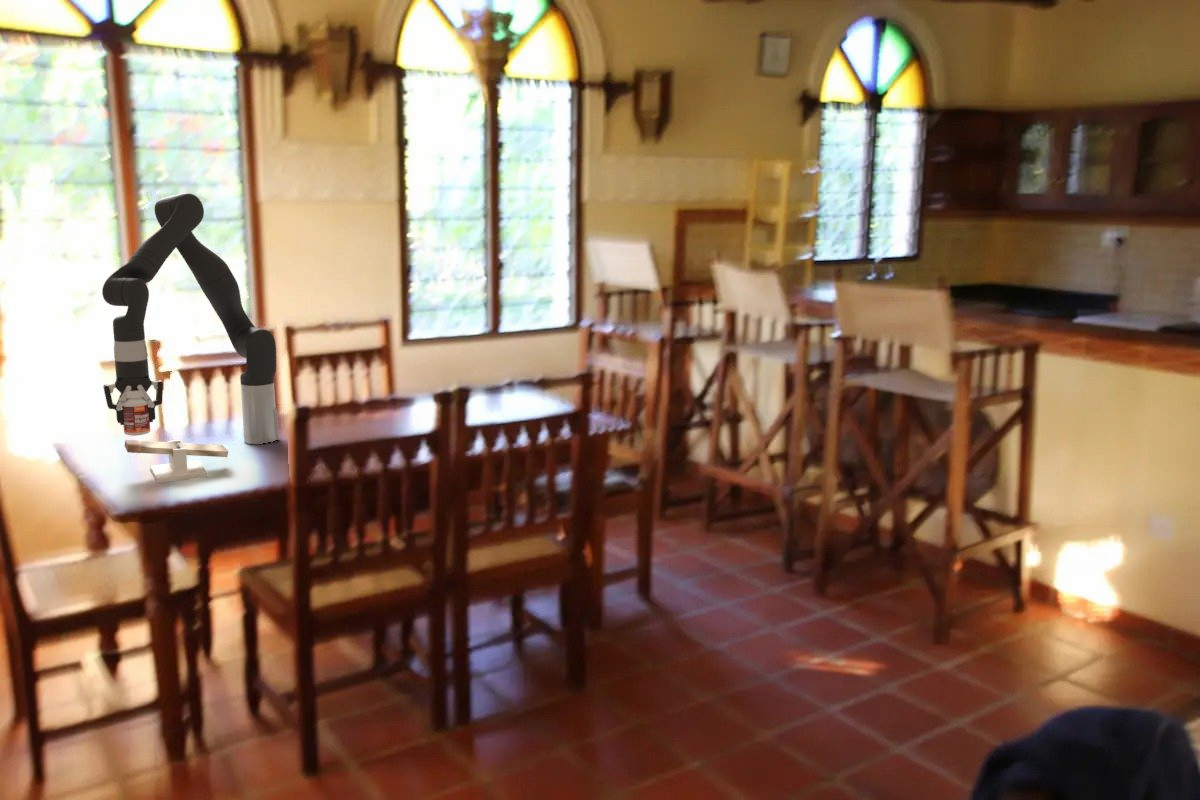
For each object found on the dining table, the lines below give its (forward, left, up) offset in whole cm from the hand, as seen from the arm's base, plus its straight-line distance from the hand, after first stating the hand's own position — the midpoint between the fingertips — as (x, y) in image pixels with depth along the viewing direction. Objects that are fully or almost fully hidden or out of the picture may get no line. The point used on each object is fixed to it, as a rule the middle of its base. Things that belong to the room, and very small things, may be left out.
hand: (136, 422), depth 266 cm
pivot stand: (-9, 0, -14) cm, 17 cm away
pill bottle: (0, 0, -3) cm, 3 cm away
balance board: (-9, 0, -8) cm, 12 cm away
